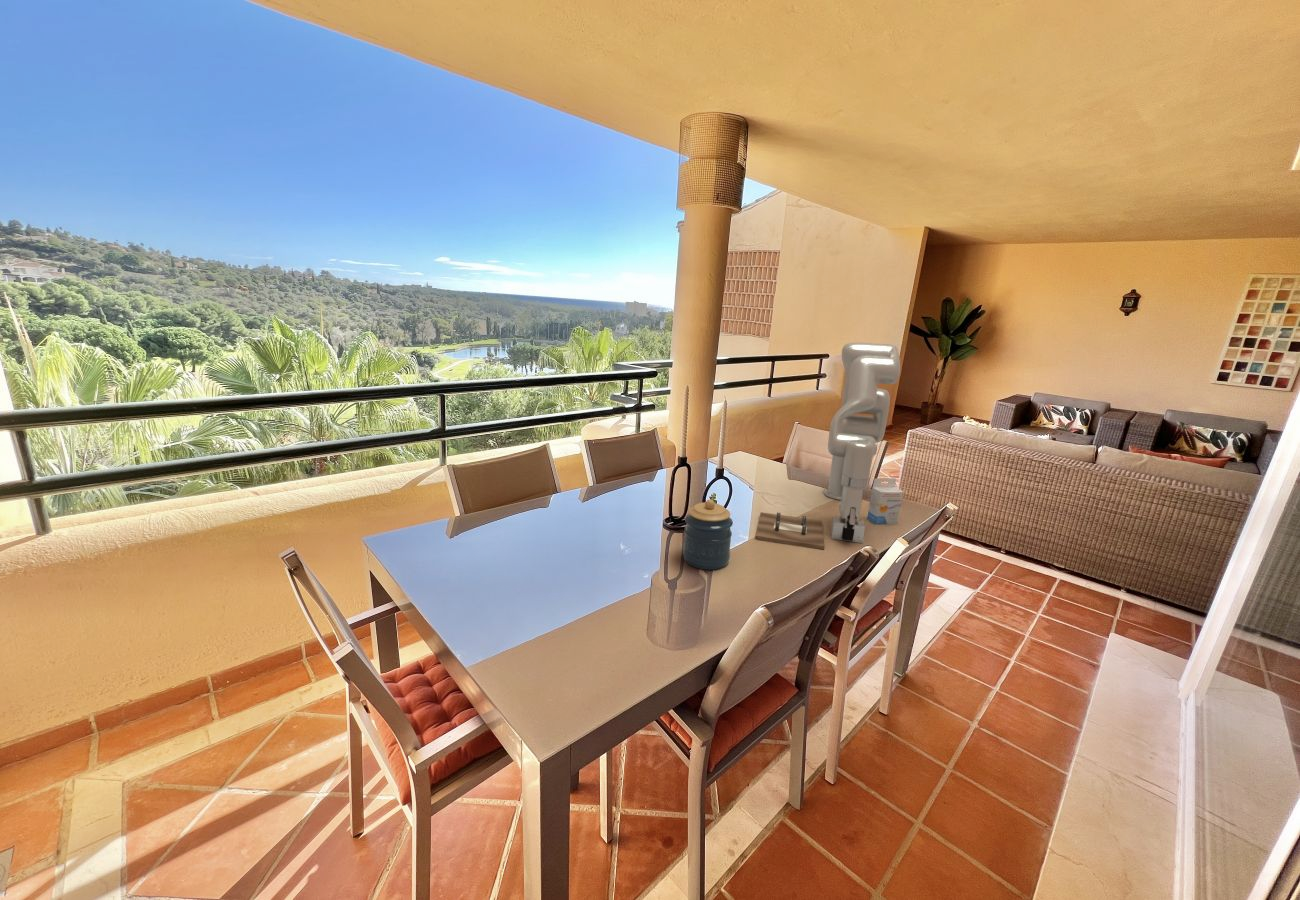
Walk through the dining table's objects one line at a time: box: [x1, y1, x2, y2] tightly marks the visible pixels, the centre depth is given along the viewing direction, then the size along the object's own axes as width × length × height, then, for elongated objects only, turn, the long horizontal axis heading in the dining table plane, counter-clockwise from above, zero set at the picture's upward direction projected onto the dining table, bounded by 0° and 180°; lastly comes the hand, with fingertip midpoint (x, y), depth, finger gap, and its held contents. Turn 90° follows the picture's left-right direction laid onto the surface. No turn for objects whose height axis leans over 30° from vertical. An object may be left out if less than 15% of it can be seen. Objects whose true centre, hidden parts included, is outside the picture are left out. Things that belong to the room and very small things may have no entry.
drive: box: [830, 516, 866, 544], centre depth 155 cm, size 4×9×6 cm, turn 74°
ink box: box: [867, 477, 904, 525], centre depth 168 cm, size 8×5×15 cm, turn 98°
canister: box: [682, 499, 734, 571], centre depth 137 cm, size 13×13×18 cm
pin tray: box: [755, 512, 826, 550], centre depth 159 cm, size 20×20×4 cm
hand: (846, 535), depth 156 cm, fingers closed on drive, 4 cm apart
